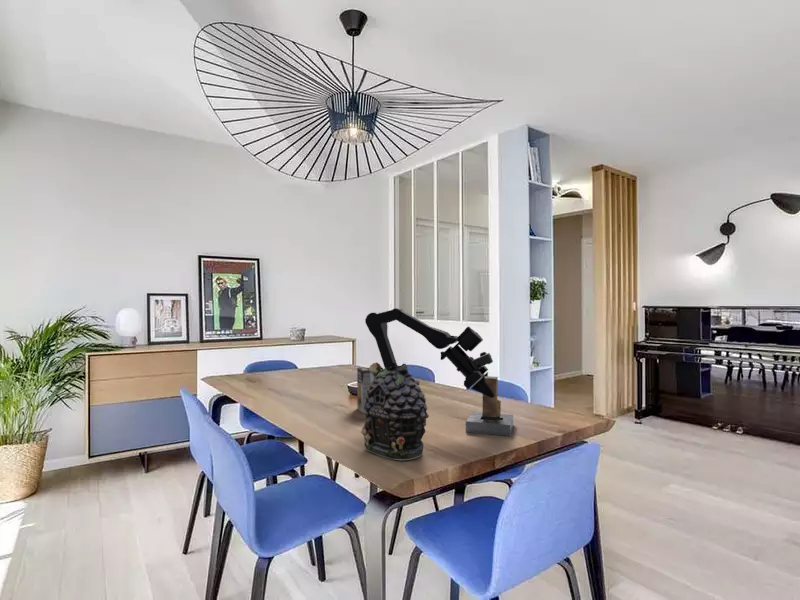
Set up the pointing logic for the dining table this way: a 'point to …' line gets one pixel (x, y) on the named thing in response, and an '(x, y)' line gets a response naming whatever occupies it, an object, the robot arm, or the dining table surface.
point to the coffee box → (362, 387)
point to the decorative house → (394, 413)
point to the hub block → (489, 424)
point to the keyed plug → (491, 399)
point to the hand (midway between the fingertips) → (494, 395)
